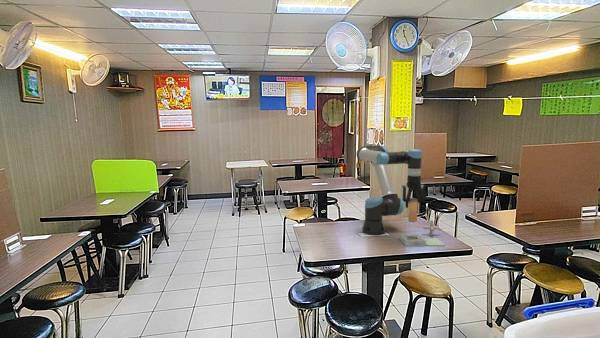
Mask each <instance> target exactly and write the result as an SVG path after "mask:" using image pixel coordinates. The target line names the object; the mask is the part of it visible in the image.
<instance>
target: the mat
mask: <svg viewBox="0 0 600 338" xmlns="http://www.w3.org/2000/svg"><path fill="white" fill-rule="evenodd" d="M423 239H424V240H425V241H426V247H445V246H446V245H445V243H443V242H442V241H441V240H440V239H439V238H423Z"/></svg>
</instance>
